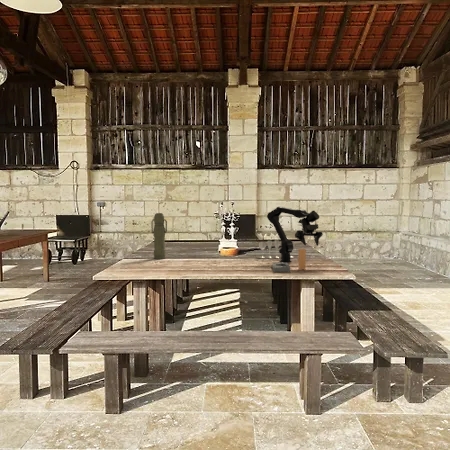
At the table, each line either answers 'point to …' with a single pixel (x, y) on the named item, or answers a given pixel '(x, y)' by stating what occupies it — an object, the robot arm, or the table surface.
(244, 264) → the table surface
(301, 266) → the peg
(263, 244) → the goblet set
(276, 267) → the grey flat block
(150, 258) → the table surface
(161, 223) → the thermos
